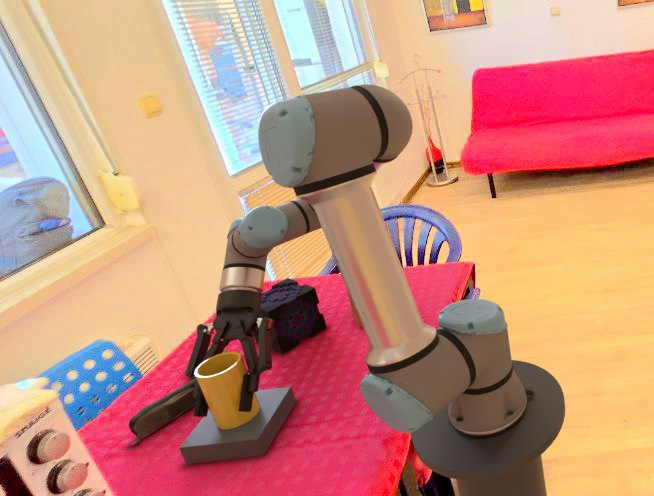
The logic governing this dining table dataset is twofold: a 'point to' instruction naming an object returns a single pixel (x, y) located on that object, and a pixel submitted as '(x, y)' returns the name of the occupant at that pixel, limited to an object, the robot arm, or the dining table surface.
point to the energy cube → (291, 314)
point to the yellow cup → (225, 389)
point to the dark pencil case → (162, 411)
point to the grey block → (240, 431)
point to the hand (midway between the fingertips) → (222, 413)
